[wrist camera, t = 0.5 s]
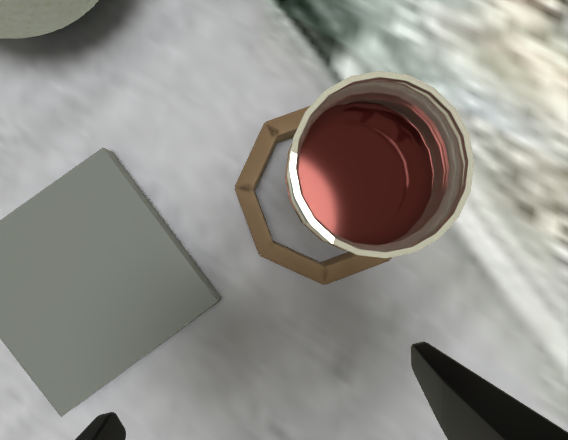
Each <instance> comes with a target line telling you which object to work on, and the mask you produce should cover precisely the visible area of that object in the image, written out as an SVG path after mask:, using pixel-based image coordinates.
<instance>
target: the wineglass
mask: <svg viewBox="0 0 568 440" xmlns="http://www.w3.org/2000/svg"><path fill="white" fill-rule="evenodd" d="M473 167H474V159H473V153H472V148H471V143H470V138H469V133H468V131H467V129H466V127H465V126H464V124H463V122H462V120H461V118H460V116H459V114H458V113H457V111H456V109H455V107H454V106H453V105H451V104H450V103H449V102H448V101H447V100H446V99H445V98H444V97H443V96H442V95H441V94H440V93H439V92H438V91H437V90H436V89H435V88H434V87H432V86H430V85H428V84H425V83H423V82H421V81H419V80H417V79H415V78H413V77H411V76H409V75H404V74H397V73H390V72H383V71H377V72H371V73H366V74H360V75H355V76H350V77H349V78H347V79H345V80H343V81H341V82H339V83H338V84H336V85H334V86H332V87H330V88H329V89H327V90H325V91H324V92H323V93H322V94H321V95H320V97H319V98H318V99H317V100H316V101H315V102H314V103H313V104H312V105H311V106H310V107H309V108H308V109H307V110H306V112H305V114H304V116H303V118H302V120H301V122H300V124H299V127H298V129H297V131H296V133H295V135H294V137H293V142H292V145H291V147H290V149H289V152H288V159H287V167H286V176H285V179H286V184H287V189H288V194H289V199H290V202H291V204H292V206H293V208H294V209H295V211H296V213H297V215H298V217H299V218H300V220H301V222H302V223H303V224H304V225H305V226H306V227H307V228H308V229H310V230H311V231H312V232H313V233H314V234H315V235H316V236H317V237H318V238H319V239H320V240H322V241H324V242H326V243H329V244H331V245H333V246H335V247H337V248H339V249H342V250H346V251H350V252H352V253H354V254H356V255H362V256H371V257H379V258H390V257H395V256H400V255H405V254H410V253H414V252H416V251H418V250H420V249H421V248H423V247H425V246H427V245H428V244H430V243H432V242H434V241H435V240H437V239H439V238H440V237H441V236H442V235H443V234H444V233H445V231H446V230H447V229H448V228H449V227H450V226H451V225H452V224H453V223H454V222H455V220H456V219H457V218H458V217H459V215H460V213H461V211H462V209H463V206H464V204H465V202H466V200H467V198H468V195H469V193H470V191H471V184H472V175H473Z"/></svg>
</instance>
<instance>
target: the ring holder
mask: <svg viewBox="0 0 568 440" xmlns="http://www.w3.org/2000/svg"><path fill="white" fill-rule="evenodd" d="M309 107H310V106H309ZM309 107H306V108H303V109H300V110H298V111H295V112H292V113H289V114H286V115H283V116H281V117H278V118H275V119H272V120H269V121H267V122H266V124H265V123H264V125H263V127H262V129H261V131H260V133H259V136H258V138H257V140H256V142H255V144H254V146H253V148H252V151H251V153H250V155H249V157H248V159H247V161H246V163H245V166H244V168H243V170H242V172H241V174H240V176H239V179H238V181H237V183H236V185H235V187H236V188H235V191H236V194H237V196H238V199H239V202H240V205H241V207H242V210H243V213H244V215H245V218H246V221H247V223H248V226H249V229H250V232H251V234H252V237H253V240H254V242H255V245H256V248H257V250H258V253H259V254H261V255H260V256H262V257H264V258H266V259H268V260H270V261H273V262H275V263H277V264H279V265H281V266H284V267H286V268H288V269H290V270H292V271H295V272H297V273H299V274H301V275H303V276H305V277H308V278H310V279H312V280H314V281H316V282H319V283H321V284H323V285H324V284H325V285H326V284H329V283H331V282H334V281H337V280H339V279H342V278H345V277H347V276H350V275H352V274H355V273H358V272H360V271H363V270H366V269H368V268H371V267H374V266H376V265H379V264H382V263H384V262H387V261H390V260H389V259H391V258H392V257H390V258H379V257H371V256H362V255H356V254H354V253H352V252H347V253H345V254H342V255H339V256H337V257H334V258H331V259H329V260H326V261H323V262H321V263H320V262H318V261H316V260H314V259H312V258H309V257H307V256H305V255H303V254H301V253H298V252H296V251H294V250H292V249H290V248H288V247H285V246H283V245H281V244H279V243H277V242H274V241H273V240H272V237H271V234H270V232H269V229H268V226H267V223H266V221H265V218H264V215H263V213H262V210H261V207H260V204H259V202H258V199H257V196H256V194H255V189H256V187H257V185H258V183H259V181H260V179H261V176H262V174H263V172H264V170H265V168H266V166H267V164H268V161H269V159H270V157H271V155H272V153H273V151H274V148H275V146H276V144H277V143H279V142H282V141H285V140H288V139H290V138H293V137H294V135H295V133H296V131H297V129H298V127H299V124H300V122H301V120H302V118H303V116H304V114H305V112H306V110H307V109H308V108H309Z"/></svg>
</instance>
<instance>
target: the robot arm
mask: <svg viewBox="0 0 568 440" xmlns="http://www.w3.org/2000/svg"><path fill="white" fill-rule="evenodd" d="M411 365H412V369H413V371H414V374H415V376H416V378H417V380H418V382H419V384H420V386H421V388H422V390H423V392H424V394H425V396H426V398H427V400H428V402H429V404H430V406H431V408H432V410H433V413H434V415H435V417H436V419H437V421H438V423H439V424H440V426H441V428H442V430H443V432H444V433H445V435H446V437H447V439H448V440H568V432H567V431H565V430H563V429H562V428H560V427H559V426H557V425H556V424H554V423H552V422H551V421H549V420H548V419H546V418H545V417H543V416H541V415H540V414H538V413H537V412H535V411H534V410H532V409H530V408H529V407H527V406H526V405H524V404H523V403H521V402H519V401H518V400H516V399H515V398H513V397H512V396H510V395H508V394H507V393H505V392H504V391H502V390H501V389H499V388H497V387H496V386H494V385H493V384H491V383H490V382H488V381H486V380H485V379H483V378H482V377H480V376H479V375H477V374H475V373H474V372H472V371H471V370H469V369H468V368H466V367H464V366H463V365H461V364H460V363H458V362H457V361H455V360H453V359H452V358H450V357H449V356H447V355H446V354H444V353H442V352H441V351H439V350H438V349H436V348H435V347H433V346H431V345H430V344H428V343H426V342H420V343H415V344H412V346H411ZM125 438H126V431H125V428H124V426H123V425H122V423H121V421H120V420H119V418H118V416H117V415H116V413H114V412H110V413H106V414H102V415H99V416H98V417H96V418H95V419H94V420H93V421H92V422H91V424H90V425H89V426H88V427H87V428H86V429H85V430H84V431H83V432H82V433H81V434H80V435H79V436H78V437H77V438H76V439H75V440H125Z"/></svg>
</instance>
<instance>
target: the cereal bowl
mask: <svg viewBox="0 0 568 440" xmlns="http://www.w3.org/2000/svg"><path fill="white" fill-rule="evenodd" d="M98 1H99V0H0V38H4V39H5V38H13V39H18V38H27V37H33V36H41V35H43V34H47V33H51V32H54V31H56V30H58V29H62V28H64V27H65V26H68V25H69V24H70V23H73V22H75V21H76V20H78V19H79V18H80V17H81V16H83V15H84V14H85V13H86V12H88V11H89V10H90V9H91V8H92V7H94V6H95V4H96V3H97V2H98Z"/></svg>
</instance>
